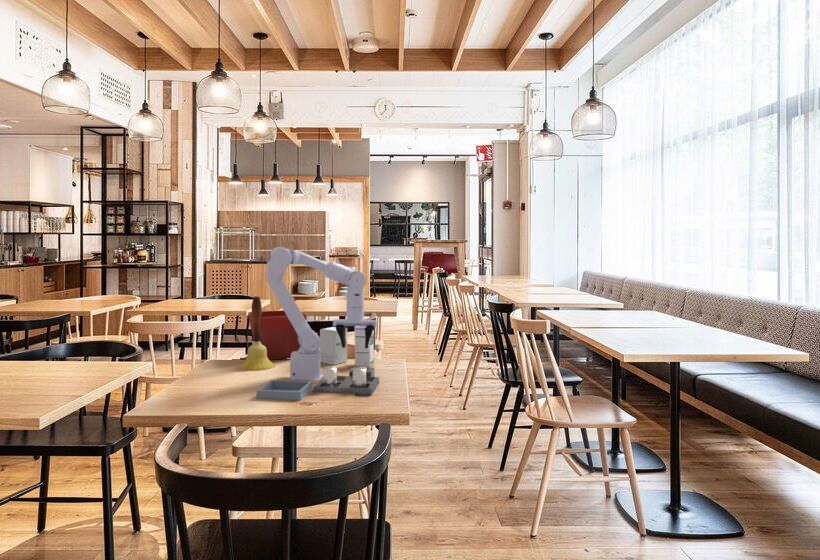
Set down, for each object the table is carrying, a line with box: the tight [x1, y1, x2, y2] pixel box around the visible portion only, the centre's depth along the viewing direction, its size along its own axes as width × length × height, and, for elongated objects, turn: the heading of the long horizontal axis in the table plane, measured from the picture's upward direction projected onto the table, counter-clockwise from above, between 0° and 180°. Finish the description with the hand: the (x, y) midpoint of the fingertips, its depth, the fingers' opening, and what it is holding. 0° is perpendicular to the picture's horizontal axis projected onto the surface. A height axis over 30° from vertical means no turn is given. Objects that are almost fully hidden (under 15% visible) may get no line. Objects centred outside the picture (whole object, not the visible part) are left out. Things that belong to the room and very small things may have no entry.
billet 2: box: [353, 368, 366, 388], centre depth 179 cm, size 4×4×7 cm
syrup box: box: [353, 326, 375, 367], centre depth 218 cm, size 6×6×14 cm
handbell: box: [239, 296, 276, 372], centre depth 213 cm, size 12×12×25 cm
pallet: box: [313, 375, 380, 396], centre depth 184 cm, size 17×15×2 cm
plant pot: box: [247, 309, 308, 361], centre depth 232 cm, size 19×19×17 cm
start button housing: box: [348, 366, 375, 377], centre depth 197 cm, size 7×7×3 cm
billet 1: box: [322, 366, 338, 387], centre depth 181 cm, size 4×4×7 cm
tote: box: [256, 379, 314, 402], centre depth 175 cm, size 13×13×3 cm
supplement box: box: [319, 326, 348, 366], centre depth 222 cm, size 7×7×13 cm
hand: (355, 347), depth 201 cm, fingers open, 7 cm apart
